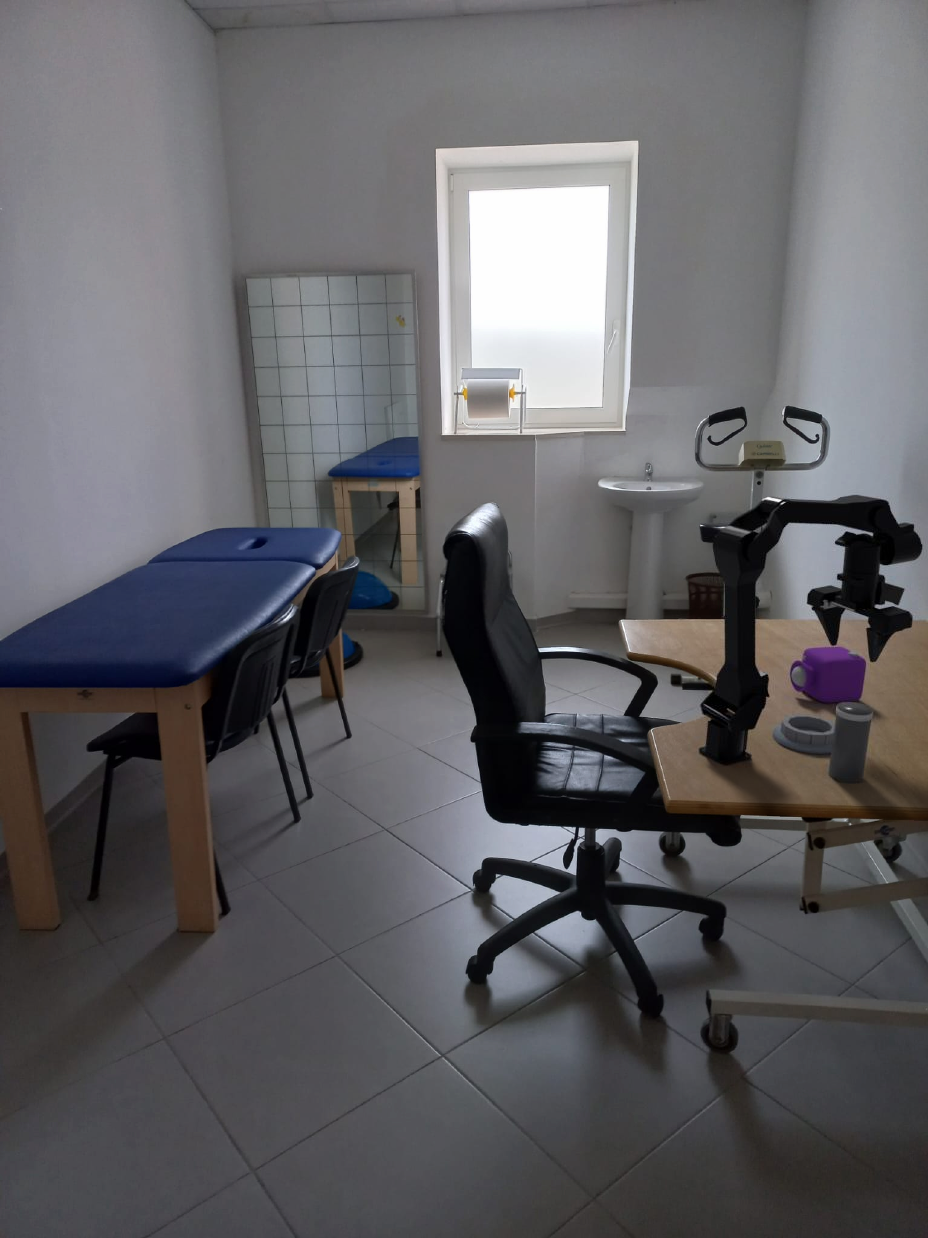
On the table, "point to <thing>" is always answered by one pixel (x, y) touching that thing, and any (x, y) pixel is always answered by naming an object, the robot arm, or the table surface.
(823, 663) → the toy camera
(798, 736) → the ring
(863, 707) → the grey domed cylinder
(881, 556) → the robot arm
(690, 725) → the table surface
